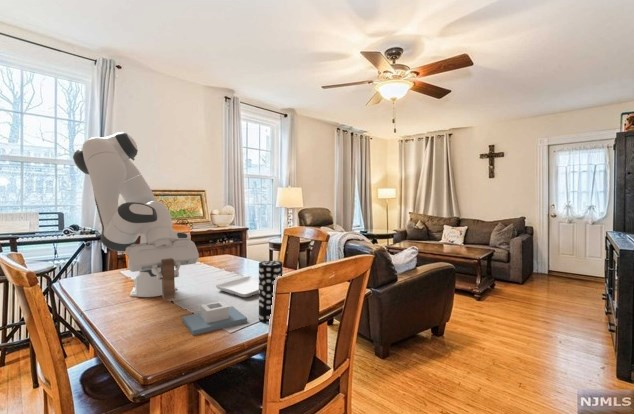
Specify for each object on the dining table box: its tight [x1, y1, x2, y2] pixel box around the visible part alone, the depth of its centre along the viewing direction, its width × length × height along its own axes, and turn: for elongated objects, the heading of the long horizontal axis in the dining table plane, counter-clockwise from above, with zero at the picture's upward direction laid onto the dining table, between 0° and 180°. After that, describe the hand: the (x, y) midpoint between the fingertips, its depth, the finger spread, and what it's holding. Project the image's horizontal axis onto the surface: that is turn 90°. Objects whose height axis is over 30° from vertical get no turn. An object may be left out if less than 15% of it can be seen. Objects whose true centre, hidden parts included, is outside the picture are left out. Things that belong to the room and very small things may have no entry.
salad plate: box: [215, 275, 259, 298], centre depth 144 cm, size 21×21×3 cm
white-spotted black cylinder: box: [258, 260, 284, 324], centre depth 110 cm, size 8×8×20 cm
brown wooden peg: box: [161, 258, 176, 301], centre depth 96 cm, size 3×3×12 cm
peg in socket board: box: [182, 300, 248, 336], centre depth 108 cm, size 14×18×6 cm
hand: (168, 277), depth 95 cm, fingers closed on brown wooden peg, 3 cm apart
